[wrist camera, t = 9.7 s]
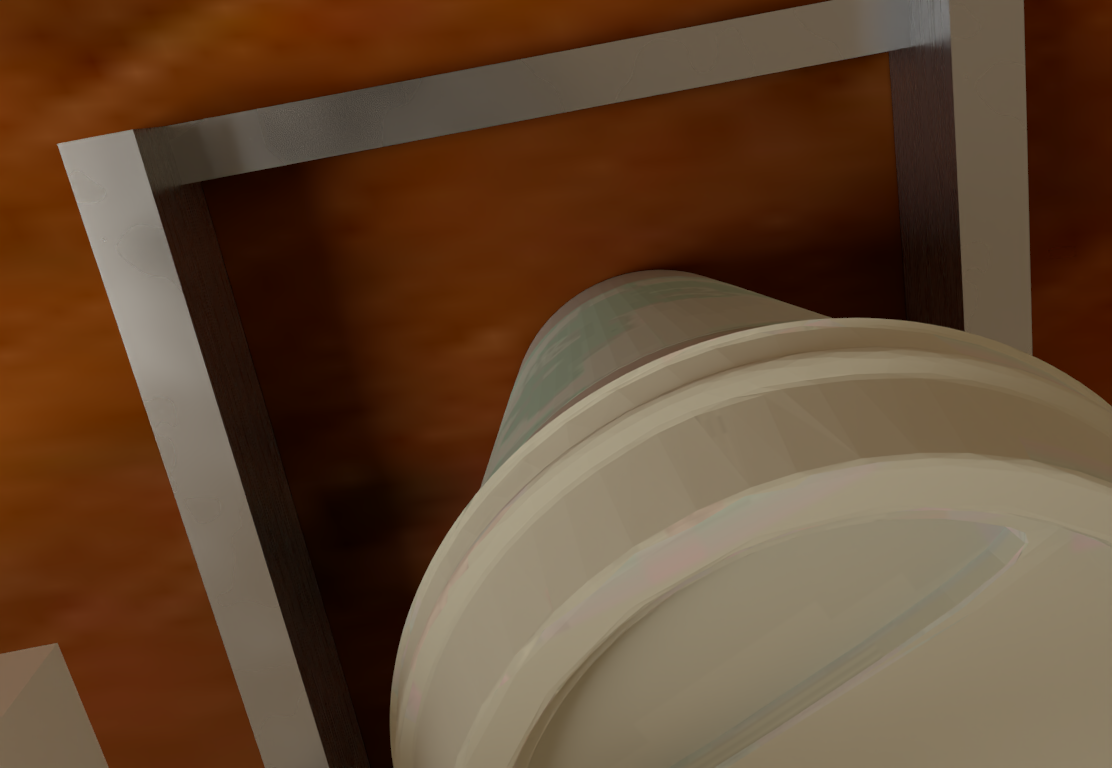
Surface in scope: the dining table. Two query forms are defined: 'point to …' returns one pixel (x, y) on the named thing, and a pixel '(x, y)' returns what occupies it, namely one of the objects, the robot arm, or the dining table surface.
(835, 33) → the button box with rail
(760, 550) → the coffee cup
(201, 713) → the dining table surface
